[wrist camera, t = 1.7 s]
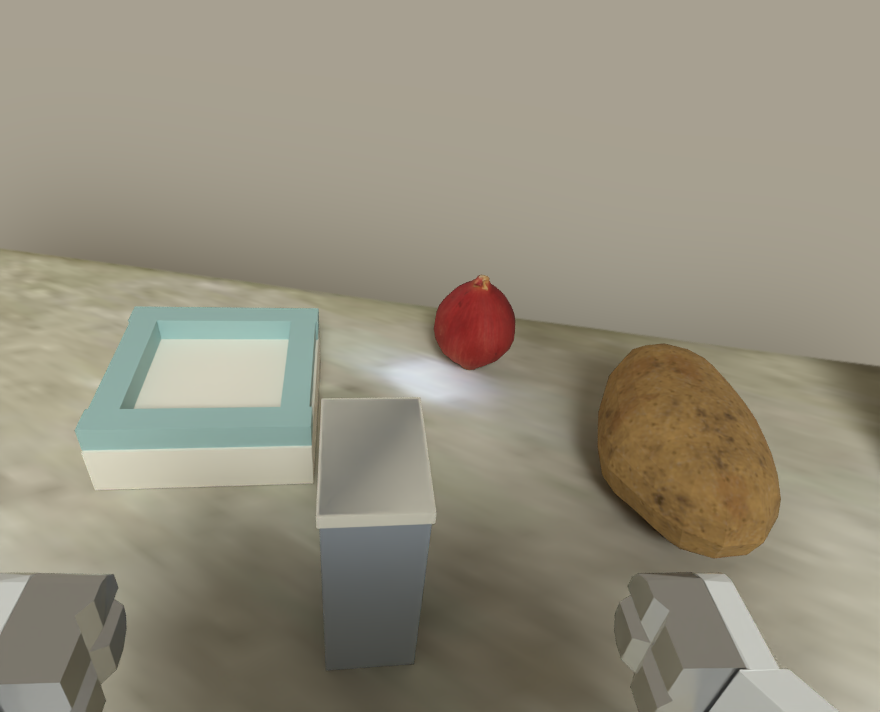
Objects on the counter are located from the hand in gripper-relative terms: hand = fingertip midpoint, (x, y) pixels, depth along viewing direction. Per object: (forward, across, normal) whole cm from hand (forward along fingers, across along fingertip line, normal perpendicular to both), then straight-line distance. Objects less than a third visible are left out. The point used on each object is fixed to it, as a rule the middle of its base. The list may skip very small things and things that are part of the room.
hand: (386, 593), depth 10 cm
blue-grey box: (+12, -1, +19) cm, 23 cm away
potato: (+19, -18, +18) cm, 32 cm away
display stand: (+26, +9, +19) cm, 33 cm away
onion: (+32, -8, +18) cm, 37 cm away
